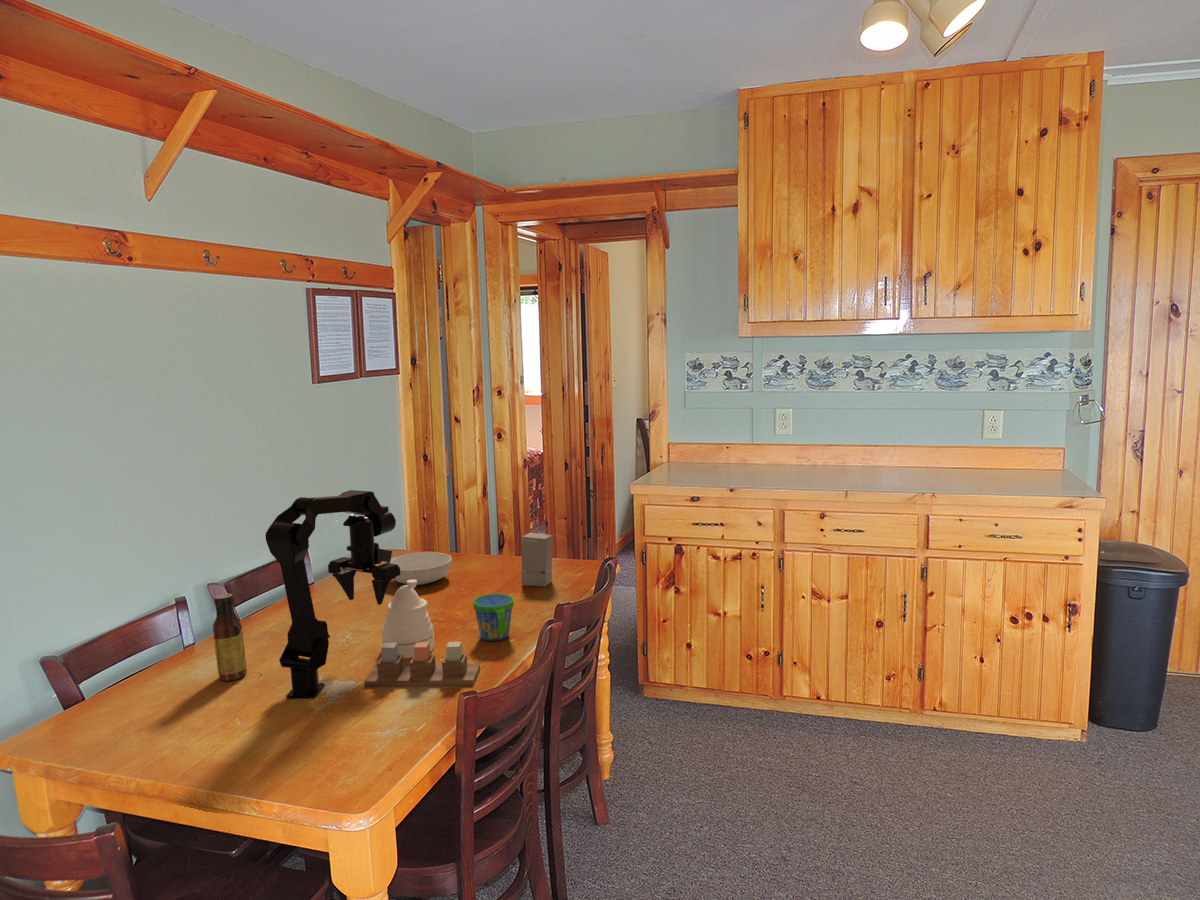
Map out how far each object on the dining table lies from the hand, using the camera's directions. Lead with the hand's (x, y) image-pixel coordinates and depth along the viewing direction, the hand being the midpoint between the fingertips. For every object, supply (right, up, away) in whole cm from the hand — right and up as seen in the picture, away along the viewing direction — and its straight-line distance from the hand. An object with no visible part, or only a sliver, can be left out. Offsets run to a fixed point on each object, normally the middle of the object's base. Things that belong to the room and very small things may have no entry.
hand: (365, 602), depth 202 cm
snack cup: (+31, -12, +12) cm, 35 cm away
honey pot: (+9, -13, +5) cm, 17 cm away
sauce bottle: (-29, -16, -10) cm, 34 cm away
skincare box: (+39, -5, +57) cm, 69 cm away
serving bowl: (0, -5, +63) cm, 63 cm away
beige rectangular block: (+25, -12, -13) cm, 30 cm away
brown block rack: (+17, -15, -13) cm, 26 cm away
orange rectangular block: (+17, -12, -13) cm, 25 cm away
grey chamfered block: (+10, -12, -13) cm, 20 cm away
